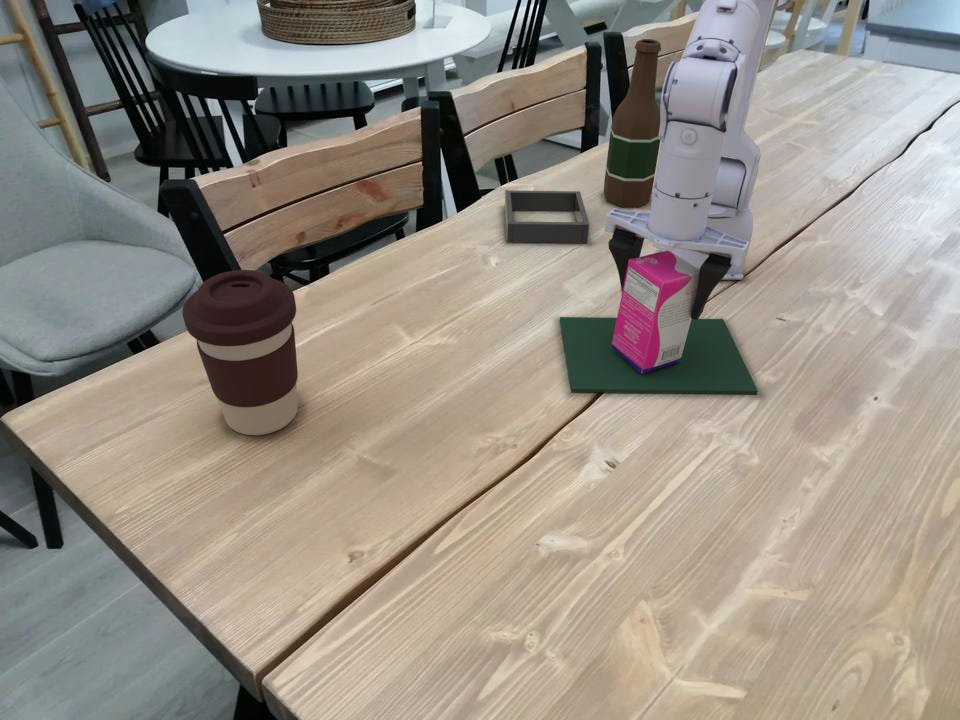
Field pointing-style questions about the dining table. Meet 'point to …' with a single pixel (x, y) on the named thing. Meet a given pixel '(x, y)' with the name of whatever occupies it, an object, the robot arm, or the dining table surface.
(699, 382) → the mat
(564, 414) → the dining table surface
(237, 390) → the coffee cup
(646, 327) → the supplement box
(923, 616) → the dining table surface
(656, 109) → the beer bottle
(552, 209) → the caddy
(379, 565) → the dining table surface
